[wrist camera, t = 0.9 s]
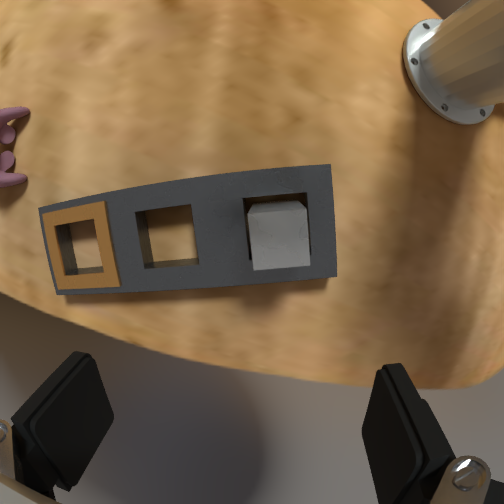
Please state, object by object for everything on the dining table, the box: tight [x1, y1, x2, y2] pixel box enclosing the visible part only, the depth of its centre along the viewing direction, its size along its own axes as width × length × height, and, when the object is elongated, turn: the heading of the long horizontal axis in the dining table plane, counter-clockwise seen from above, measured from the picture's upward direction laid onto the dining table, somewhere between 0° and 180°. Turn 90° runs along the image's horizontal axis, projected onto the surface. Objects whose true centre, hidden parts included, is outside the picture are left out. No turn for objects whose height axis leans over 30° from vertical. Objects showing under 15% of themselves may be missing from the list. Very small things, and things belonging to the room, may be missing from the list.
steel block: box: [248, 199, 310, 270], centre depth 25 cm, size 4×4×8 cm
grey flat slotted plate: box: [38, 164, 337, 295], centre depth 29 cm, size 30×10×3 cm, turn 96°
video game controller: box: [0, 107, 30, 188], centre depth 26 cm, size 10×5×7 cm, turn 178°
